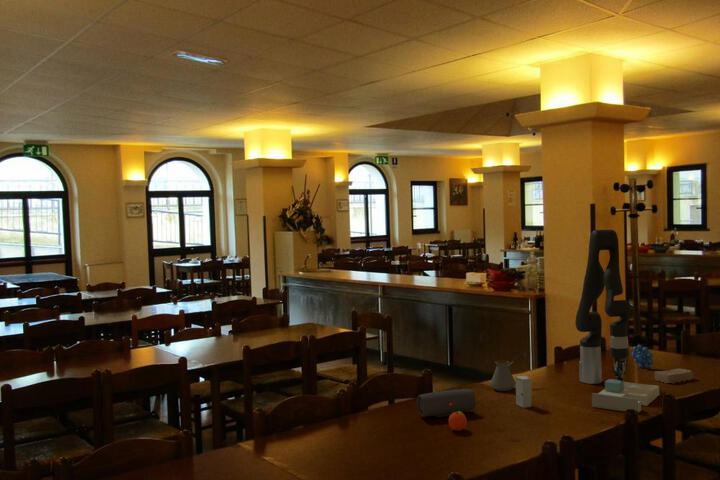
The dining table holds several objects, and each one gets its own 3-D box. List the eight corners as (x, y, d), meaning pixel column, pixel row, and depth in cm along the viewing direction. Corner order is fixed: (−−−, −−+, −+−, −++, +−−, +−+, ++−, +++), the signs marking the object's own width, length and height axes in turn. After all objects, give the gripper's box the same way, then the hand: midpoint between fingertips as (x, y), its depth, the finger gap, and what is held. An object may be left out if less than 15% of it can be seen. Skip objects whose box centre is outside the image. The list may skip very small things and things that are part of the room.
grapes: (627, 367, 335) (626, 344, 335) (634, 365, 339) (633, 342, 339) (648, 371, 326) (648, 347, 326) (656, 369, 330) (655, 345, 330)
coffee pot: (504, 393, 297) (502, 360, 296) (485, 389, 306) (484, 357, 306) (535, 385, 309) (534, 353, 309) (516, 381, 318) (515, 350, 318)
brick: (679, 376, 315) (678, 366, 315) (694, 380, 307) (694, 370, 307) (654, 381, 308) (653, 371, 308) (668, 385, 300) (668, 375, 300)
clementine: (456, 425, 254) (455, 407, 254) (472, 428, 250) (471, 410, 250) (445, 431, 248) (444, 412, 248) (461, 434, 244) (460, 415, 243)
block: (605, 391, 280) (604, 381, 279) (609, 388, 284) (609, 378, 284) (619, 393, 276) (619, 383, 276) (623, 389, 280) (623, 380, 280)
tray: (592, 406, 271) (591, 393, 271) (616, 389, 295) (616, 377, 295) (637, 413, 260) (637, 399, 259) (659, 395, 284) (658, 382, 284)
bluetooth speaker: (424, 421, 261) (423, 396, 261) (416, 415, 270) (415, 391, 270) (477, 415, 267) (476, 390, 267) (467, 408, 276) (466, 385, 276)
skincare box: (515, 404, 279) (514, 376, 279) (524, 403, 281) (523, 375, 280) (523, 408, 273) (522, 379, 273) (532, 406, 275) (531, 378, 274)
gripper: (615, 342, 292) (616, 381, 292) (605, 348, 281) (606, 388, 282) (632, 344, 287) (633, 383, 288) (623, 349, 277) (624, 390, 277)
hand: (620, 385), depth 285 cm, fingers closed
